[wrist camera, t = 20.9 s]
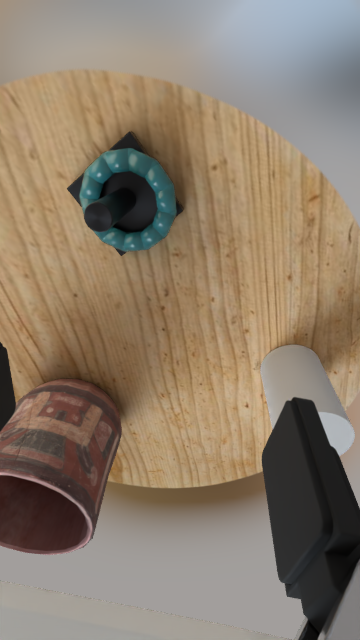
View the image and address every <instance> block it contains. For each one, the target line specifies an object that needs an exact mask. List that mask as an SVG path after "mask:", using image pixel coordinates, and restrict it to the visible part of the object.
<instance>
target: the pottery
mask: <svg viewBox="0 0 360 640" xmlns="http://www.w3.org/2000/svg"><path fill="white" fill-rule="evenodd" d="M121 432H122V427H121V421H120V416H119V412H118V409H117V407H116V405H115V404H114V402H113V400H112V399H111V398H110V397H109V396H108V395H107V394H106V393H105V392H104V391H103V390H102V389H101V388H99V387H97V386H96V385H94V384H93V383H90V382H87V381H83V380H80V379H57V380H53V381H49V382H46V383H44V384H42V385H39V386H37V387H36V388H34V389H33V390H32V391H30V392H29V393H27V394H26V395H25V396H23V397H22V398H21V399H20V400H19V401H18V402H17V403H16V409H15V412H14V414H13V415H12V417H11V418H10V420H9V421H8V422H7V424H6V425H5V426H4V428H3V429H2V430H1V432H0V546H2V547H6V548H10V549H13V550H17V551H22V552H25V553H34V554H43V555H53V554H63V553H69V552H72V551H75V550H77V549H80V548H83V547H84V546H85V545H86V544H87V543H88V542H89V541H90V540H91V539H92V538H93V535H94V531H95V528H96V524H97V520H98V516H99V512H100V508H101V504H102V500H103V496H104V492H105V487H106V483H107V480H108V476H109V473H110V470H111V467H112V464H113V461H114V459H115V456H116V453H117V449H118V445H119V442H120V438H121Z"/></svg>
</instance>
